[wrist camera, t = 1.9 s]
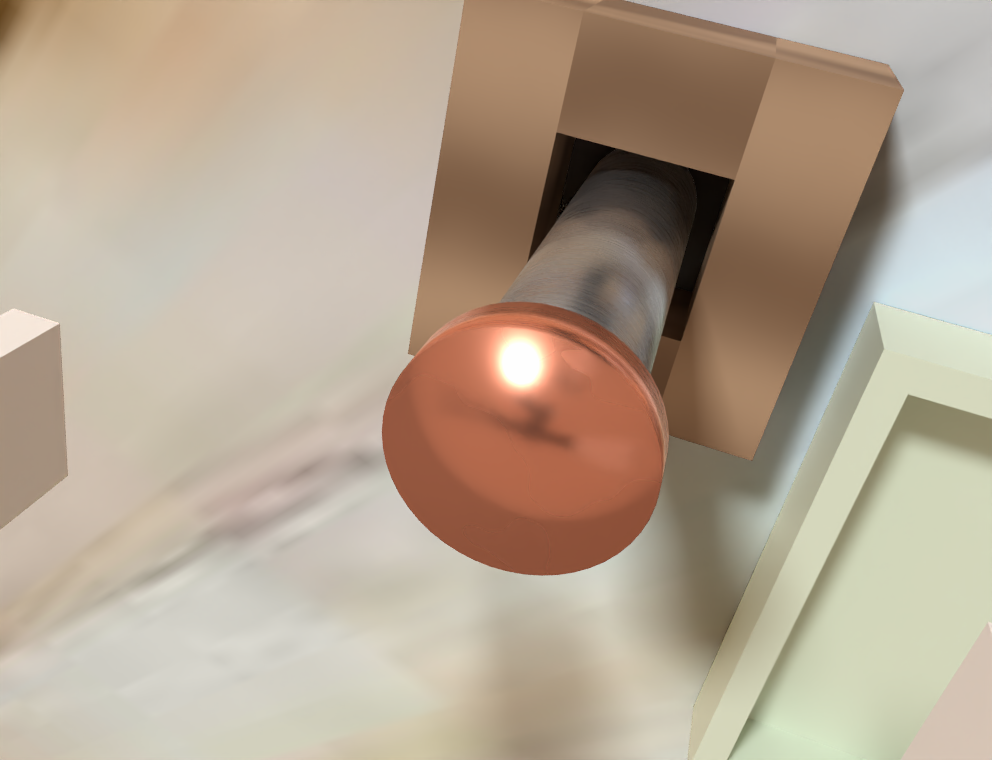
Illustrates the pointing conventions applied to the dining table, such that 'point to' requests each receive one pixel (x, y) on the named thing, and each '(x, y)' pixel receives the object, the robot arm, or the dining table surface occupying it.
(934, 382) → the tray
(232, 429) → the dining table surface
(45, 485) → the robot arm
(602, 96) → the socket block
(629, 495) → the pin
